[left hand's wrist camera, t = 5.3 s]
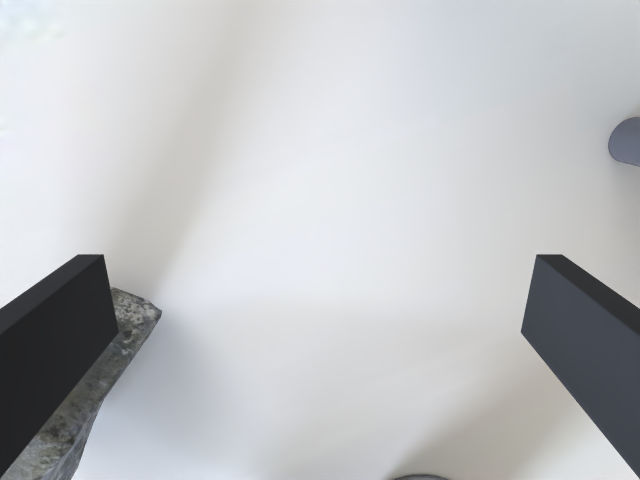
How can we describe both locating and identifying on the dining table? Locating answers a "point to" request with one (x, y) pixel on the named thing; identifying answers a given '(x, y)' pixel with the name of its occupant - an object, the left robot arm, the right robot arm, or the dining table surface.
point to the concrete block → (86, 397)
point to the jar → (626, 142)
